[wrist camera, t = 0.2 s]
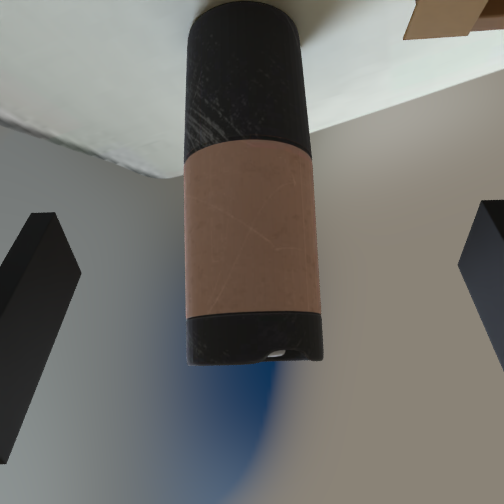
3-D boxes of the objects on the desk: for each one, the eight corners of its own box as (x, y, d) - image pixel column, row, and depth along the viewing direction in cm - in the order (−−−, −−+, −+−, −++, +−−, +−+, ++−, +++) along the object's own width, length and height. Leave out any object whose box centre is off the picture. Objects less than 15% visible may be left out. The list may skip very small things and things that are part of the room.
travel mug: (214, 86, 34) (220, 362, 30) (159, 19, 27) (156, 367, 23) (315, 61, 32) (337, 359, 27) (283, -21, 25) (306, 362, 20)
